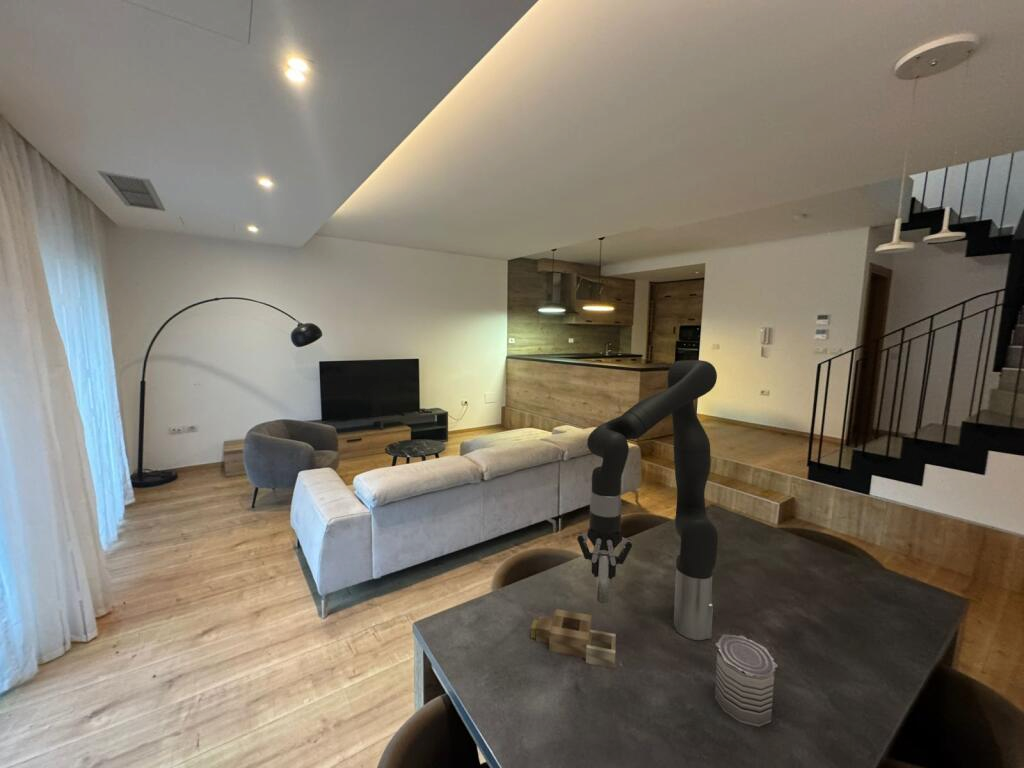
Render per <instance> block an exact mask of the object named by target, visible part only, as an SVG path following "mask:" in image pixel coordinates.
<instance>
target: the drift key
mask: <svg viewBox="0 0 1024 768" xmlns="http://www.w3.org/2000/svg"><path fill="white" fill-rule="evenodd" d="M538 620H539V619H533V621H532V624H531V626H530V638H531V639H536V627H537V623H538Z"/></svg>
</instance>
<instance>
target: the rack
mask: <svg viewBox="0 0 1024 768" xmlns="http://www.w3.org/2000/svg"><path fill="white" fill-rule="evenodd" d="M616 635H617V634H616V633H611V632H606V631H600V630H595V629H592V628H591V629H590V637H589V644H587V645H586V658H585V663H586V664H590V665H596V666H601V667H605V668H610V669H616V640H617V639H616V637H617V636H616Z"/></svg>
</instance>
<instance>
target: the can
mask: <svg viewBox="0 0 1024 768" xmlns="http://www.w3.org/2000/svg"><path fill="white" fill-rule="evenodd" d="M715 646H716V648H717V653H716V654H717V655H716V668H715V669H716V670H715V671H716V672H715V685H714V687H715V688H714V689H715V691H714V699H715V700H716V702H717V703H718V705H719V706H720V708H721V710H722V711H723V712H724V713H726V714H727V715H729V716H730V717H732V718H734V719H735V720H736V721H737V722H739V723H741V724H746V725H749V726H755V727H758V728H759V727H762V726H764V725H766V724H768V723H771V722H772V716H773V715H772V714H773V702H774V701H773V698H774V687H775V685H774V684H775V671H776V670H777V667H779V665H778V663H777V662H776V661H775V659H774V658H773V657H772V655H771V654H770V653H769V651H768V650H767V648H766V647H765V646H762V644H759V643H758V642H755V641H753V640H751V639H750V638H749V637H746V636H745V635H737V634H724V633H723V634H722V635H721V636H720V638H719V639H717V642H716V643H715Z"/></svg>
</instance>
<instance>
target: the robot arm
mask: <svg viewBox="0 0 1024 768" xmlns="http://www.w3.org/2000/svg"><path fill="white" fill-rule="evenodd" d="M717 378H718V373H717V370H716V368H715V366H714V364H712V363H711V362H709V361H706V360H702V359H699V360H698V359H694V360H693V359H692V360H690V359H689V360H676V361H675V362H673V363H672V364H671V365H670V366H669V369H668V372H667V388H666V389H664V390H662V391H659V392H658V393H655V394H653V395H651V396H648V397H646V398H644V399H642V400H640V401H639V402H637V403H635V404H634V405H633V406H632V407H630V408H628V410H626V411H625V412H623V414H622V415H619V416H617V417H615V418H612V419H611V420H609V421H606V422H604V423H602V424H600V425H599V426H597V427H595V428H594V429H593V430H592V431H591V433H590V434H589V436H588V438H587V443H586V445H587V448H588V450H589V452H590V453H592V454H593V455H595V456H597V457H599V458H602V462H601V463H602V464H601V466H597V467H595V468H594V469H592V475H591V490H590V491H591V492H590V499H589V500H590V501H589V527H588V530H587V532H584V533H583V532H579V533H578V534H577V535H578V536H577V538H576V539H577V542H578V544H579V548H580V549H581V552H582V555H583V557H584V559H585V560H589V561H590V562H591V574H592V575H593V577H594V578H597V557H598V553H599V551H608V552H609V556H610V580H613V578H615V577H616V575H617V574H616V572H617V569H616V568H617V565H623V564H624V562H625V560H626V559H627V557H628V555H629V554H630V551H631V549H632V547H633V540H632V539H630V538H626V537H623V534H622V532H621V525H622V524H621V522H622V497H621V495H622V494H621V493H622V492H621V491H622V488H621V486H622V476H623V473H624V470H625V467H626V463H627V460H628V456H629V451H630V450H629V449H630V448H629V442H628V440H638V439H639V438H640V437H643V435H646V433H647V432H648V431H650V430H651V429H653V427H655V426H656V425H657V424H658V423H660V422H661V421H662V420H664V419H665V418H667V417H668V416H670V415H671V417H672V433H673V435H672V436H673V461H674V463H673V464H674V473H675V474H674V476H675V484H676V494H677V495H676V505H675V506H676V509H675V518H674V519H675V529H676V532H677V534H678V536H679V537H680V550H679V551H680V552H679V554H678V555H677V557H676V559H675V561H676V564H675V580H674V581H675V582H674V583H675V584H674V585H675V587H674V608H673V628H674V629H675V631H676V632H677V633H678V634H679V635H681V636H683V637H685V638H687V639H690V640H695V641H703V640H708V639H709V640H712V631H713V616H714V615H713V613H714V606H713V602H712V592H713V591H712V590H713V589H712V587H713V575H714V574H713V572H714V569H715V566H716V563H717V555H718V544H719V543H718V541H719V540H718V539H719V537H718V531H717V528H716V526H715V524H714V523H713V522H712V521H711V520H710V519H709V517H708V514H707V510H706V501H705V493H706V491H705V490H706V486H707V481H708V479H709V477H710V476H709V475H710V471H711V465H712V463H711V462H712V459H711V456H712V455H711V442H710V439H709V437H708V434H707V433H706V431H705V428H704V427H703V425H702V423H701V422H700V420H699V418H698V415H697V413H696V410H695V406H694V405H695V403H694V401H695V400H696V399H699V398H701V397H703V396H704V395H706V394H707V393H709V392H711V391H712V390H713V388H714V387H715V385H716V383H717V380H718V379H717ZM588 540H589V541H590V542H591V544H592V545H593V550H592V552H590V548H589V546H588V543H587V542H588ZM620 543H621V547H622V549H621V551H620V553H619V554H618V556H617V555H616V551H615V550H616V547H618V546H619V544H620Z"/></svg>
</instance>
